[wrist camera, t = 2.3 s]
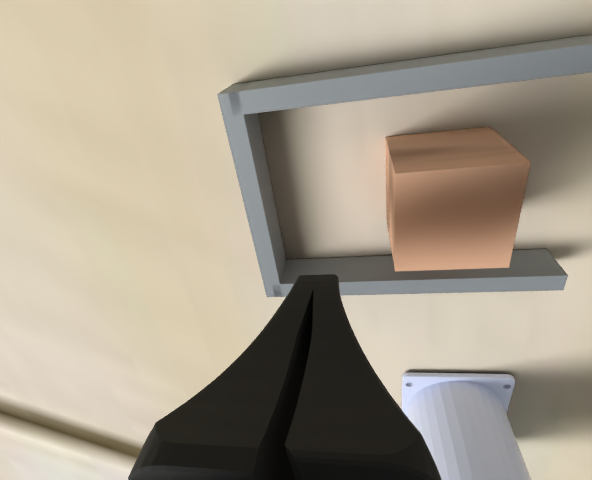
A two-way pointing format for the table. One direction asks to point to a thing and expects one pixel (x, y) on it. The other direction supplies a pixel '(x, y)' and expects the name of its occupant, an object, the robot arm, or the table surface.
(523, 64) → the grey u-shaped frame
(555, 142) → the table surface
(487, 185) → the cube
